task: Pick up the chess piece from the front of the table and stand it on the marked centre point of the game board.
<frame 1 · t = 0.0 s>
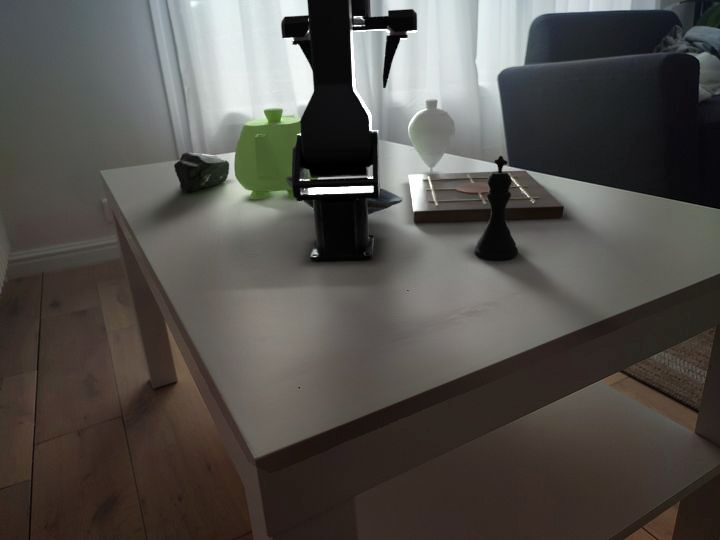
hand: (353, 89, 78), 15 cm above the table, tool pointing down, fingers open, 9 cm apart
teapot: (282, 193, 83), on the table
chess piece: (495, 254, 55), on the table
spinning top: (431, 174, 90), on the table
rock: (207, 187, 90), on the table
seashell: (343, 219, 69), on the table
board: (475, 198, 74), on the table
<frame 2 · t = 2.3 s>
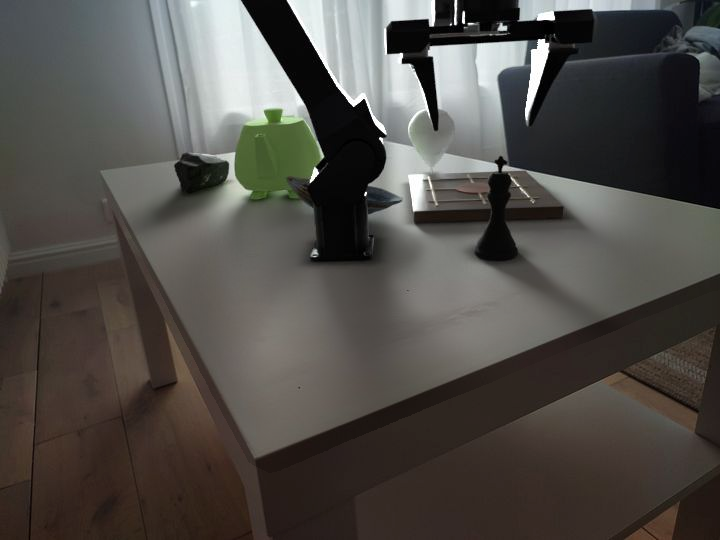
hand: (482, 128, 53), 12 cm above the table, tool pointing down, fingers open, 9 cm apart
nothing on the table moved.
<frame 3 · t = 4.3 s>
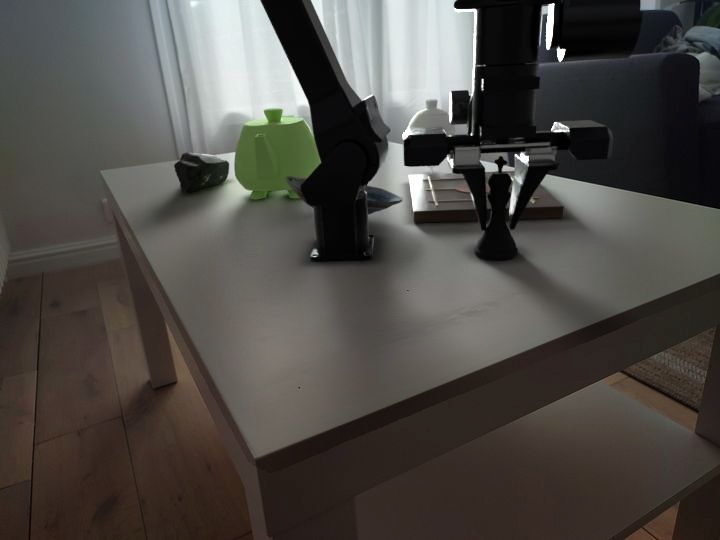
hand: (497, 229, 54), 3 cm above the table, tool pointing down, fingers closed on chess piece, 2 cm apart
chess piece: (495, 254, 55), on the table, touching gripper
everything else where it was.
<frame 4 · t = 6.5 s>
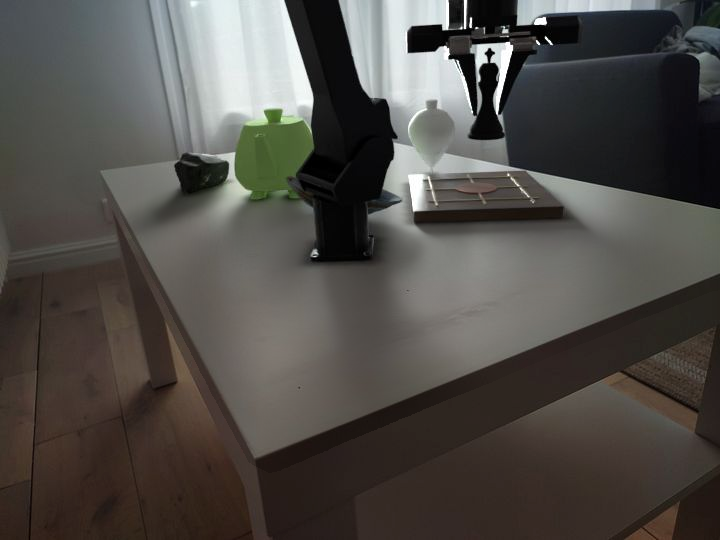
hand: (486, 115, 63), 12 cm above the table, tool pointing down, fingers closed on chess piece, 2 cm apart
chess piece: (485, 139, 64), point 9 cm above the table, touching gripper
everything else where it was.
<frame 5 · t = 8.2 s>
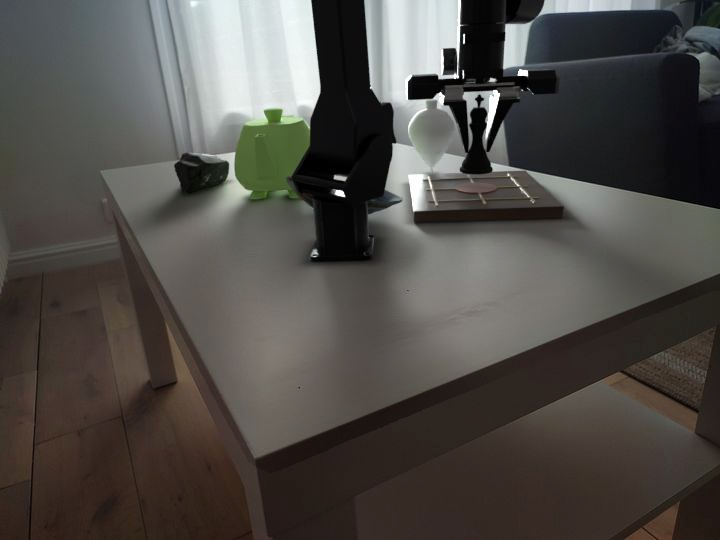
hand: (476, 152, 71), 7 cm above the table, tool pointing down, fingers closed on chess piece, 2 cm apart
chess piece: (475, 172, 72), point 4 cm above the table, touching gripper
everything else where it was.
when the fingers open (4 cm above the table, at t = 9.0 s): chess piece stays where it is, resting on board.
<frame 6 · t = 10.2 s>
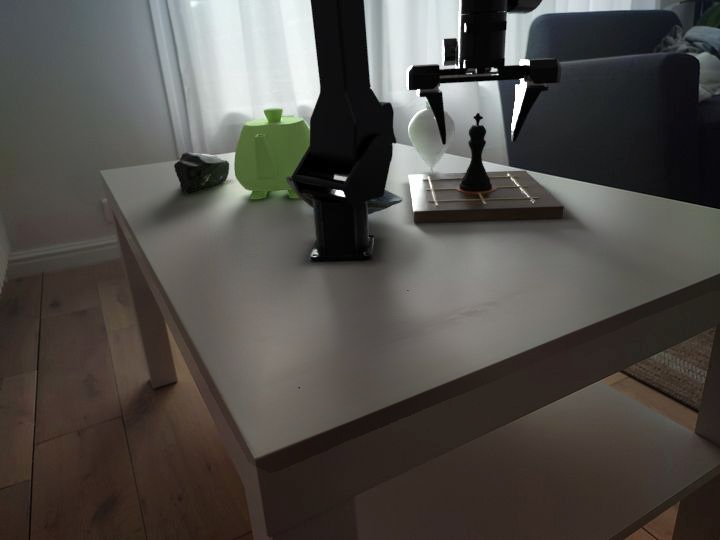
hand: (478, 142, 71), 8 cm above the table, tool pointing down, fingers open, 9 cm apart
chess piece: (475, 189, 73), point 1 cm above the table, touching board
everything else where it was.
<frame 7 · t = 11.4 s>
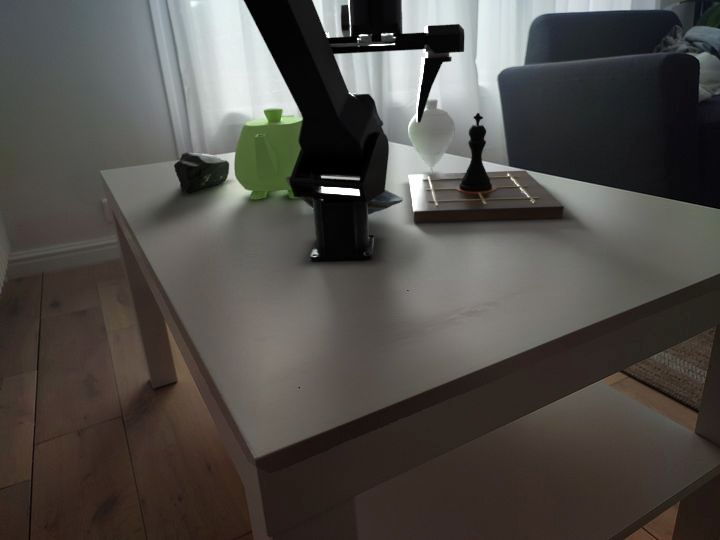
hand: (379, 123, 62), 12 cm above the table, tool pointing down, fingers open, 9 cm apart
nothing on the table moved.
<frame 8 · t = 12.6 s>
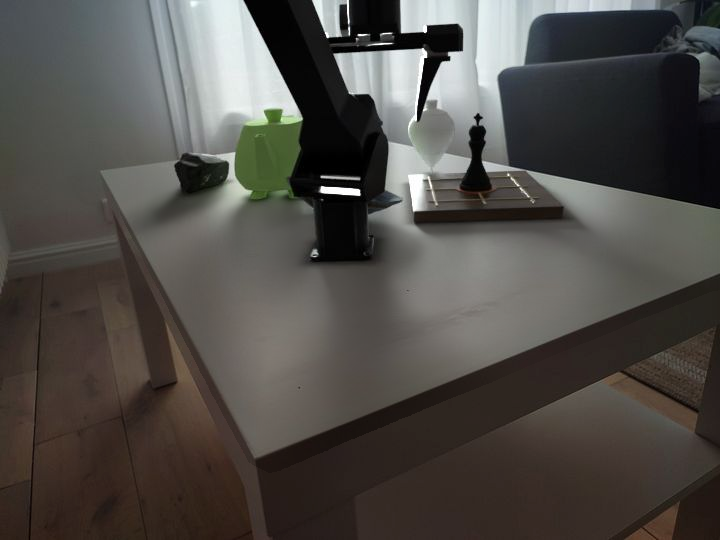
hand: (378, 123, 62), 12 cm above the table, tool pointing down, fingers open, 9 cm apart
nothing on the table moved.
at the end: chess piece 0.1 cm off-centre on the board, point 1.4 cm above the board's base; chess piece tilted 0°; the gripper is holding nothing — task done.
